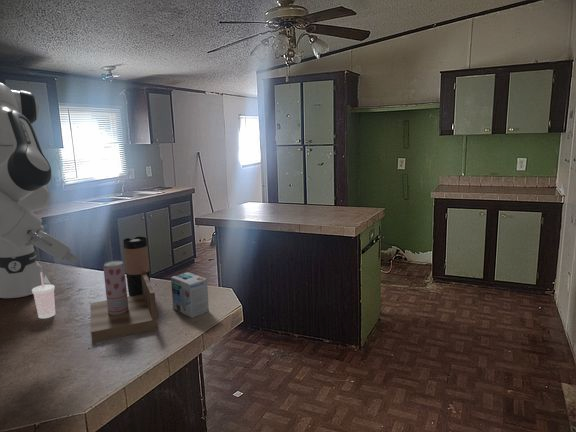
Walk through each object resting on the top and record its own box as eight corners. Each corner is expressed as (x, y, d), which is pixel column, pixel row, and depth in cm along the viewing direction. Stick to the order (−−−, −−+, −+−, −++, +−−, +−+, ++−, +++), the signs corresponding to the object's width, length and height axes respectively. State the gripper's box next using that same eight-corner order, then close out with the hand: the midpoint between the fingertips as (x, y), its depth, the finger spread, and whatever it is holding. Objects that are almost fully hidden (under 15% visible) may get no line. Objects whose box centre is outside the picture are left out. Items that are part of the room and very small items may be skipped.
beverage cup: (30, 318, 129) (24, 274, 126) (48, 310, 134) (42, 268, 131) (45, 320, 126) (39, 276, 124) (62, 312, 132) (57, 270, 129)
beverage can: (108, 317, 121) (103, 267, 118) (107, 309, 126) (102, 261, 123) (129, 313, 123) (124, 264, 120) (127, 306, 128) (123, 259, 126)
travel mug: (144, 299, 141) (139, 242, 137) (123, 298, 143) (118, 241, 139) (155, 291, 148) (151, 236, 145) (136, 290, 150) (131, 236, 146)
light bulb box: (172, 308, 134) (169, 276, 131) (190, 302, 138) (188, 271, 136) (191, 318, 126) (189, 284, 124) (209, 311, 131) (208, 278, 129)
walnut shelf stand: (91, 312, 132) (87, 278, 130) (147, 302, 139) (144, 270, 137) (92, 342, 112) (87, 304, 110) (157, 329, 120) (154, 292, 117)
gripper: (45, 224, 98) (92, 255, 107) (21, 213, 112) (64, 242, 121) (26, 246, 96) (75, 276, 105) (4, 232, 110) (49, 260, 119)
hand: (69, 257), depth 113 cm, fingers open, 8 cm apart
